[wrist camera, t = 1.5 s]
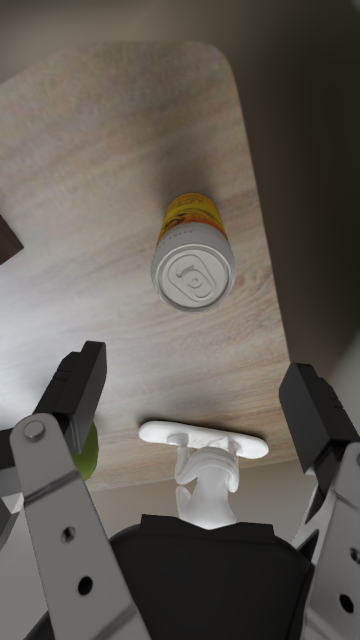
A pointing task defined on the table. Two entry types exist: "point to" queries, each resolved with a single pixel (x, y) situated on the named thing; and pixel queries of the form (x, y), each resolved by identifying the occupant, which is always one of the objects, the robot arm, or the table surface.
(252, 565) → the robot arm
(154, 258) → the beer can
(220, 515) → the figurine
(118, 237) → the table surface
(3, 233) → the shelf
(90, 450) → the apple
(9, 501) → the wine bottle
